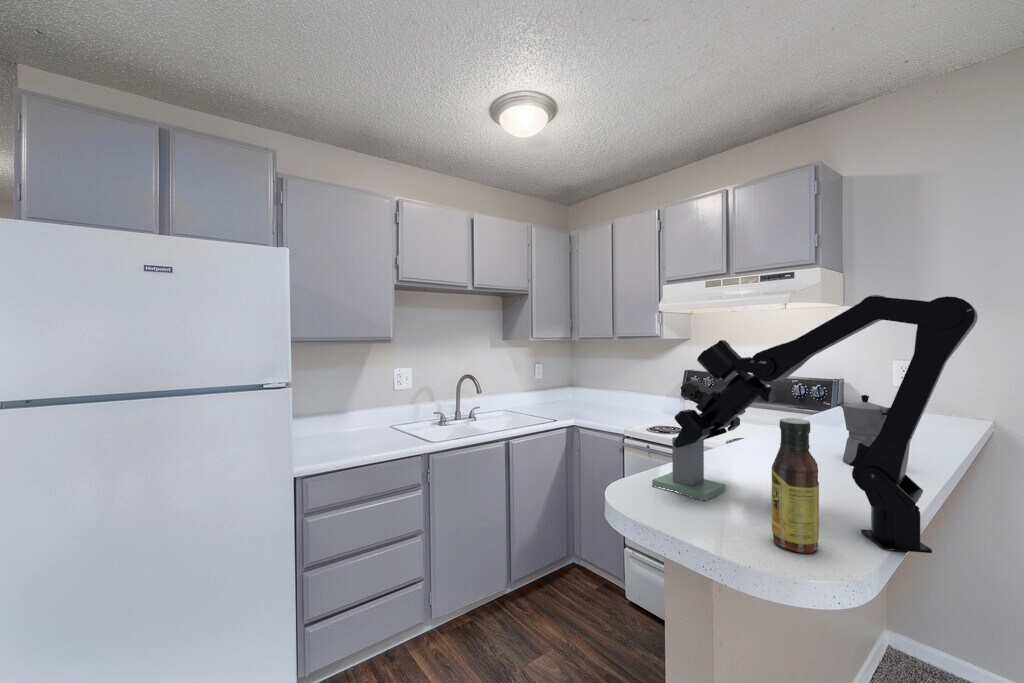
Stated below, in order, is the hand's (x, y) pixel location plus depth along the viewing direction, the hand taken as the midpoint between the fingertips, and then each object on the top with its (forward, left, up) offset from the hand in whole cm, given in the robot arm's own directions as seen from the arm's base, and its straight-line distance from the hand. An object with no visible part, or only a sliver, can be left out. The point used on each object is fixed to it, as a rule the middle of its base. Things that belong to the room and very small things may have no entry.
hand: (682, 443), depth 97 cm
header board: (-1, -1, -10) cm, 10 cm away
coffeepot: (+26, -50, -10) cm, 57 cm away
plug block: (-1, -1, -8) cm, 8 cm away
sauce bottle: (-26, -12, -10) cm, 30 cm away
